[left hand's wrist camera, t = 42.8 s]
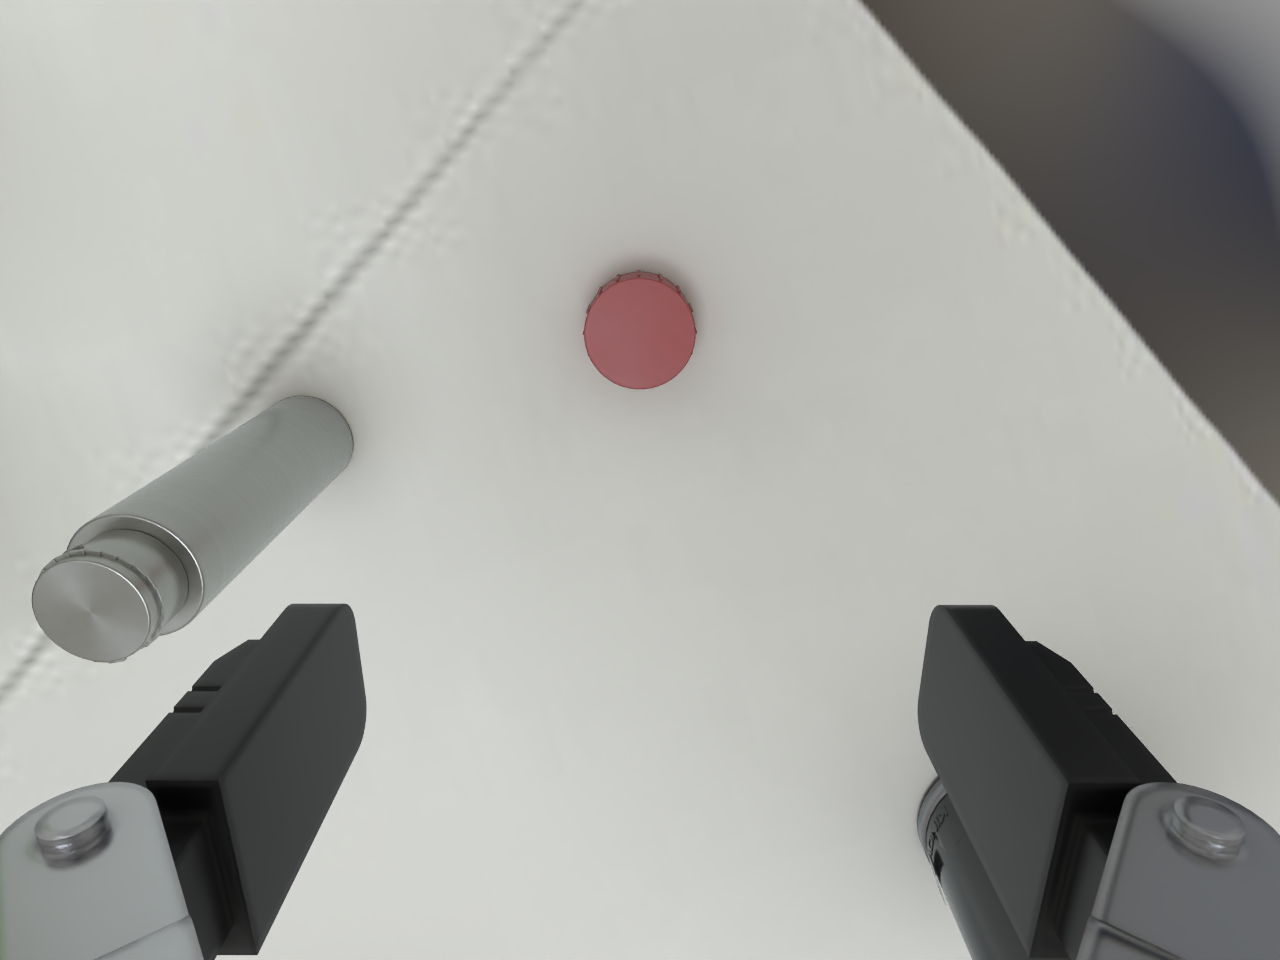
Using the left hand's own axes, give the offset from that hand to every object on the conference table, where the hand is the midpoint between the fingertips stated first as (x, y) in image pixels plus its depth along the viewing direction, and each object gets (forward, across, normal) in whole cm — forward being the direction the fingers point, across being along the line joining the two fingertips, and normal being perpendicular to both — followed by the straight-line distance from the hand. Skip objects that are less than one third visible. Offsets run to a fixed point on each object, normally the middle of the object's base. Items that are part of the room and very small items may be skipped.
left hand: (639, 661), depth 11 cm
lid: (+25, 0, 0) cm, 25 cm away
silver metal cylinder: (+27, +16, +5) cm, 32 cm away
